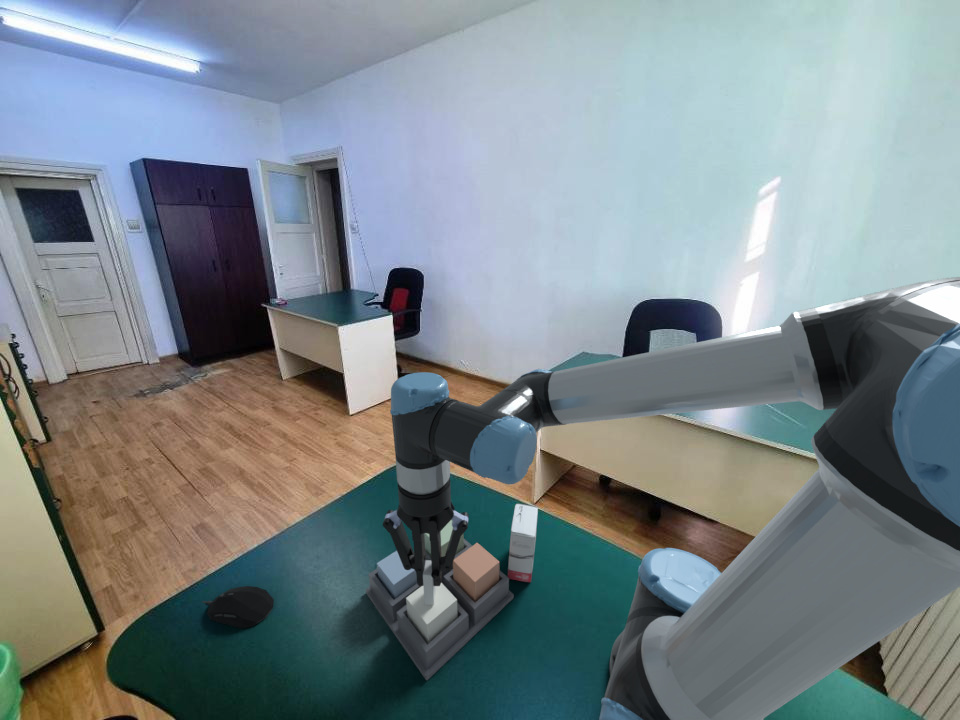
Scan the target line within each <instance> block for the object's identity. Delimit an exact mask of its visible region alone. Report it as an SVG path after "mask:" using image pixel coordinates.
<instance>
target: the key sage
mask: <svg viewBox="0 0 960 720" xmlns="http://www.w3.org/2000/svg"><path fill="white" fill-rule="evenodd" d="M452 530H453V527H452V520H450V522H449V523H448V524H447V525H446V526H445V527H444V528H443V529H442V530H441V554H442V557H443V556H445V554H446V551H447V547H448V544H449V540H450V537H451V533H452ZM464 535H465V532H464V533H463V534H462V535H461V537H460V541H459V544H458V547H457V551H456V554H458V553H459V552H460V551H462V550H463V549H464V539H465V538H464ZM424 536H425V552H426V553H427V554H428V555H429V556H430V557H431V544H430V539H429V534H427V533H424ZM456 554H455V555H456Z"/></svg>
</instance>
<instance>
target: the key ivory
mask: <svg viewBox="0 0 960 720" xmlns="http://www.w3.org/2000/svg"><path fill="white" fill-rule="evenodd" d="M406 603H407V614H408V619H409V621H410V622H411V623H412V625H413V626H414V627H415V629H416V630H417V631H418V633H419V634H420V635H421V637H422V638H423V639H424V641H425V642H426V643H427V644H429V643H430V642H431V641H432V640H433V639H434V638H435V637H437V636H438V635H439V634H440V633H441V632H442V631H443V630H445V629H446V628H447V627H448V626H449V625H450V624H451V623H453V622H454V621H455V620H456V619H457V618H458V614H457V599H456V598H455V597H454V596H453V595H452V594H451V593H450V591H449V590H448V589H447V588H446V587H445V586H444V585H443V584H442V583H441V584H440V586H436V594H435V600H434V605H425V602H424V586H421V587H420V588H419V589H417V590H416V591H415V592H413V593H412V594H411V595H409V596H408V597H407V598H406Z"/></svg>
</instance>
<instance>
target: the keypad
mask: <svg viewBox="0 0 960 720" xmlns="http://www.w3.org/2000/svg"><path fill="white" fill-rule="evenodd" d="M472 546H473V545H472V544H471V543H470V542H469V541H467V539H465V538H464V549H463V550H462V551H460V552H459V553H458V554H456V555H455V557H454V559H455V558H457V557H458V556H460V555H461V554H462V553H464V552H465V551H466V550H468V549H469V548H470V547H472ZM425 554H426V559H425V562H426V560H431V557H430V556H429V555H428V554H427V553H426V552H425ZM367 575H368V582H369V586H368V587H367V588H366V589H365V594H366V596H367V597H368V599H369V600H370V601H371V602H372V604H373V606H374V607H375V609H376V610H377V612H378V613H379V614H380V616H381V617H382V619H383V621H384V622H385V623H386V625H387V626H388V628H389V629H390V630H391V631H392V633H393V634H394V636H395V637H396V639H397V640H398V642H399V643H400V644H401V646H402V648H403V649H404V650H405V652H406V653H407V655H408V656H409V657H410V660H411V661H412V662H413V663H414V665H415V667H416V668H417V669H418V670H419V672H420V674H421V675H422V677H423V678H424V679H425V681H427V682H428V680H429V679H431V677H432V676H433V675H435V674H436V673H437V672H438V671H439V670H440V669H441V668H442V667H443V666H444V665H446V664H447V662H448V661H449V660H451V658H453V657H454V656H455V655H456V654H457V653H458V652H459V651H460V650H461V649H462V648H463V647H464V646H465V645H466V644H467V643H469V641H470V640H472V638H474V636H476V635H477V634H478V632H480V631H481V630H482V629H483V628H484V627H485V626H486V625H488V623H490V622H491V620H492V619H494V618H495V617H496V616H497V615H498V614H499V613H500V612H501V611H502V610H503V609H504V608H505V607H506V606H507V605H508V604H509V603H510V602H511V601H512V600H514V597H515V596H514V595H515V594H514V593H513V592H512V591H510V589H509V588H510V579H509V578H508V575H506V574H504V572H502V571H501V570H500V569H499V582H498V583H497V584H496V585H495V586H494V587H492V588H491V589H490V590H489V591H488V592H487V593H486V594H484V595H483V596H482V597H481V598H480V599H479V600H478V601H476V602H474V601H473V600H472V599H471V598H470V597H469V596H468V595H467V594H466V593H465V592H464V591H463V590H462V589H461V588H460V587H459V586H458V585H457V584H456V583H455V582H454V579H453V564H452V568H451V570H450V571H445V570H442V579H441V583H442V584H443V585H444V586H445V587H446V588H447V589H448V590H449V591H450V593H451V594H452V595H453V596H454V597H455V598H456V599H457V614H458V618H457V619H456V620H455V621H454V622H453V623H451V624H450V625H449V626H448V627H447V628H446V629H445V630H443V631H442V632H441V633H440V634H439V635H438V636H437V637H435V638H434V639H433V640H432V641H431V642H430V643H429V644H427V643H426V642H425V641H424V639H423V638H422V637H421V635H420V634H419V633H418V631H417V630H416V629H415V627H414V626H413V625H412V623H411V622H410V621H409V619H408V614H407V603H406V598H407V597H408V596H409V595H411V594H412V593H413V592H415V591H416V590H417V589H419V588H420V587H421V586H418V584H415V585H414V586H412V587H411V588H410V589H408V590H407V591H406V592H404V593H403V594H402V595H400V596H399V597H397V598H396V599H395V600H393V598H392V597H391V596H390V594H389V593H388V592H387V590H386V589H385V588H384V586H383V585H382V584H381V582H380V581H379V577H378V569H377V568H376V569H374V570H373V571H371V572H369V573H368V574H367Z"/></svg>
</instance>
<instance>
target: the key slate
mask: <svg viewBox="0 0 960 720" xmlns="http://www.w3.org/2000/svg"><path fill="white" fill-rule="evenodd" d="M376 569H378V577H379V581H380V582H381V584H382V585H383V586H384V588H385V589H386V590H387V592H388V593H389V594H390V596H391V597H392V598H393V600H395V599H396V598H397V597H399V596H400V595H402V594H403V593H404V592H406V591H407V590H408V589H410V588H411V587H412V586H414V585H415V584H417V575H416V571H415V570H414V569H410V570H405V569H404V567H403V565H402V562H401V560H400V557H399V555H398V552H397V550H395V551H394V552H392V553H391V554H388V555H387V556H386V557H384V558H383V559H381V560H379V561H378V562H376Z"/></svg>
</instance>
